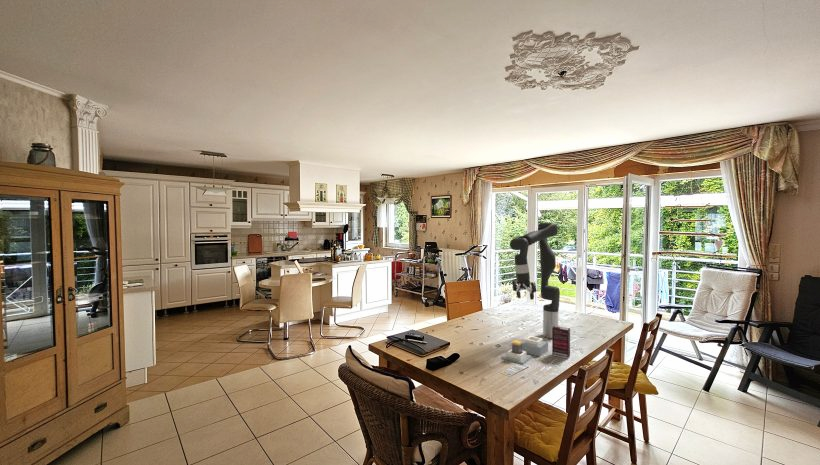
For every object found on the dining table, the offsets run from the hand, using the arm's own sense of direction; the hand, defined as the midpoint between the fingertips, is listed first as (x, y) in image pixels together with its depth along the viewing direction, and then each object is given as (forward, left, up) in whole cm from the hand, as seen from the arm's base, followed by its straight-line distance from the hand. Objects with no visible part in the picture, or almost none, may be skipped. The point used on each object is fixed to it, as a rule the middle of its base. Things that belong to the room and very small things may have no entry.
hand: (525, 298), depth 196 cm
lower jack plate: (+14, -11, -30) cm, 35 cm away
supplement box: (+12, +15, -30) cm, 36 cm away
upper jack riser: (+4, +3, -30) cm, 30 cm away
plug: (+14, -11, -29) cm, 34 cm away
